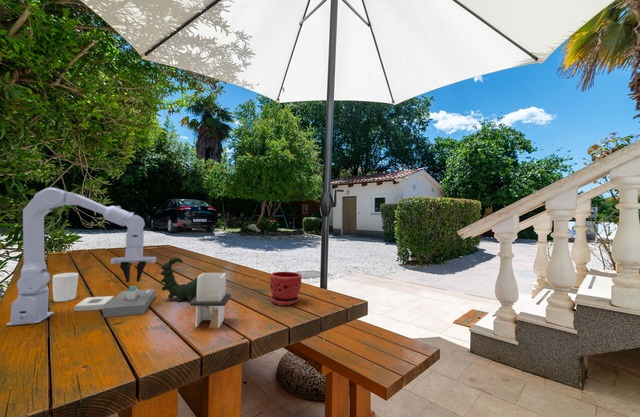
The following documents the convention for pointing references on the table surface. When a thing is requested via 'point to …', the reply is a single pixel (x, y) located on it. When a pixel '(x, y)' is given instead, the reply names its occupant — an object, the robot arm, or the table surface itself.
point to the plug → (132, 293)
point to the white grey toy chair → (210, 298)
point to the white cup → (64, 286)
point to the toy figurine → (174, 288)
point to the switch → (129, 304)
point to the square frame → (93, 303)
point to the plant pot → (285, 287)
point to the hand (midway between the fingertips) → (133, 281)
